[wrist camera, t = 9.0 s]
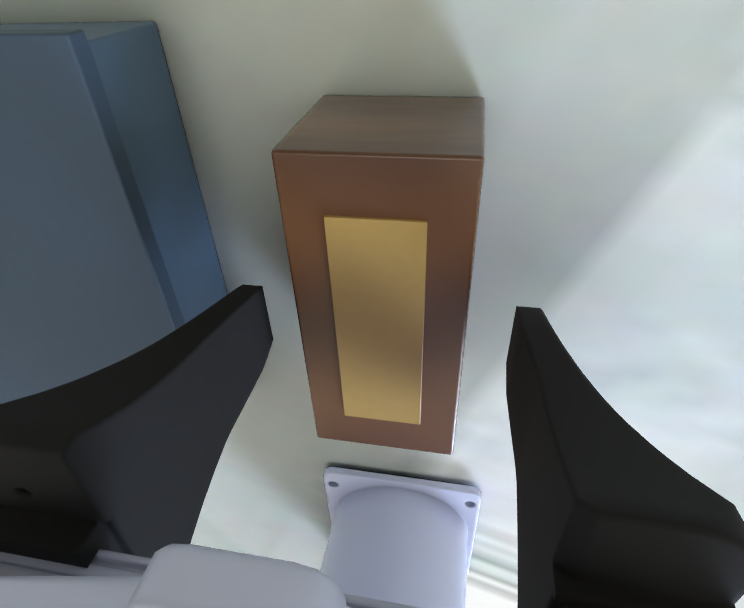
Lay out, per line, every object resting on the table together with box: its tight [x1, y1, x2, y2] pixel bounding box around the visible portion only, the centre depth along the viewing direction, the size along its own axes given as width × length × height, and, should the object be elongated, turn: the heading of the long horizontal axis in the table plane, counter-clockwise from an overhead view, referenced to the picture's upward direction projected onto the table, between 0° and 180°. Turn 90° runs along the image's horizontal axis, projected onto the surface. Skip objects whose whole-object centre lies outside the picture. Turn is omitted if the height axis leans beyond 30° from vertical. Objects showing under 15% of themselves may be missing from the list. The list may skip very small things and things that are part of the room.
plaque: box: [271, 96, 484, 455], centre depth 15 cm, size 10×5×5 cm, turn 2°
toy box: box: [0, 21, 227, 404], centre depth 18 cm, size 15×15×4 cm
